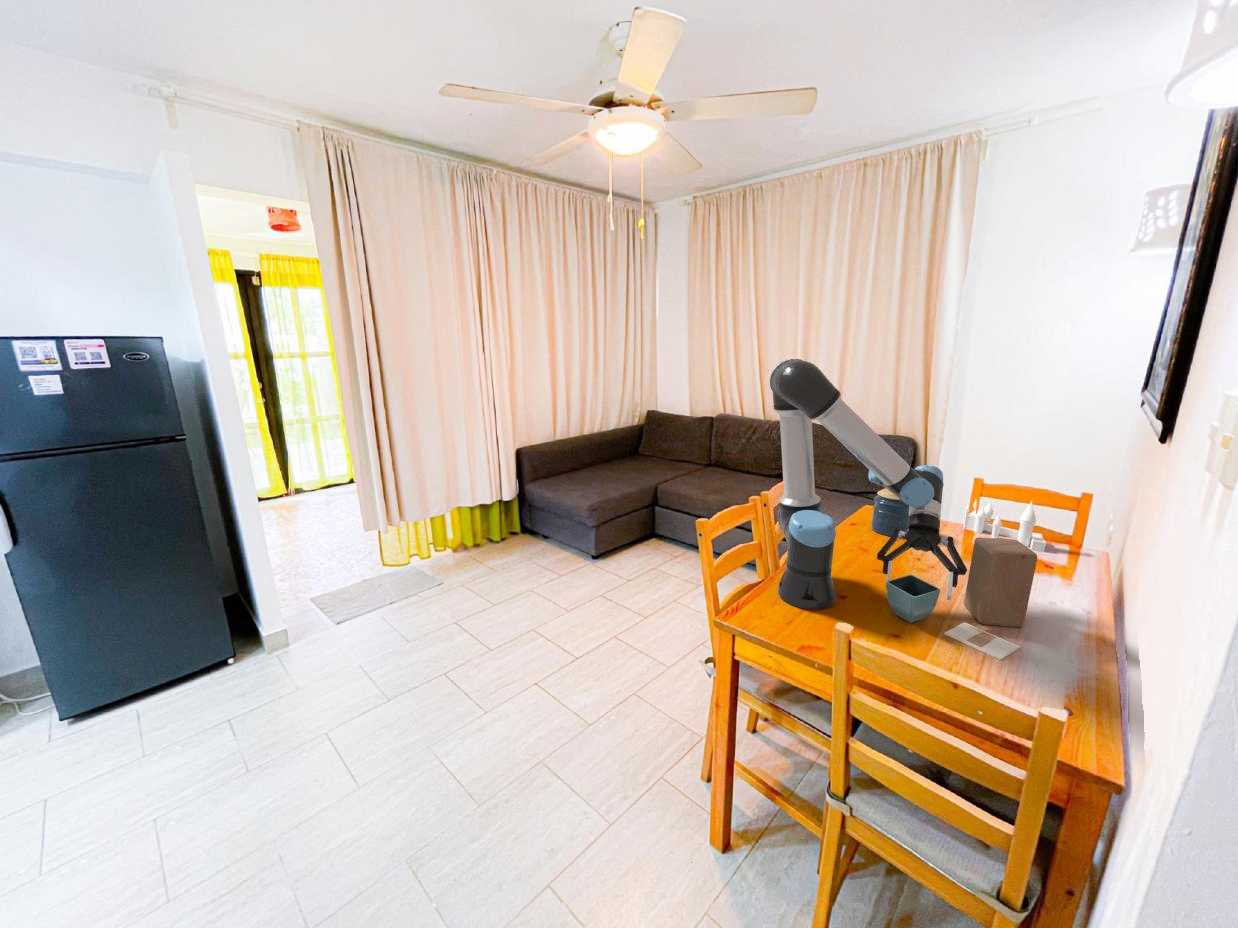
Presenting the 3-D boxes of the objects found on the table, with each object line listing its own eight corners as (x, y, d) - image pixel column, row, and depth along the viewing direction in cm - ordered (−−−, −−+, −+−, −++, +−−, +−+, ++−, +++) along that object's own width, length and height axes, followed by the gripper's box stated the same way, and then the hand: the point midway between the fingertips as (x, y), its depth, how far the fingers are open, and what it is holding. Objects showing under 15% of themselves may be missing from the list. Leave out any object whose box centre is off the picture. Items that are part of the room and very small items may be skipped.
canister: (879, 522, 197) (885, 478, 192) (915, 531, 187) (922, 485, 183) (864, 530, 189) (869, 485, 184) (901, 540, 179) (907, 492, 175)
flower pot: (881, 611, 133) (885, 580, 131) (907, 603, 136) (911, 573, 133) (910, 629, 125) (914, 597, 123) (937, 620, 128) (941, 589, 125)
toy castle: (1043, 553, 168) (1052, 507, 164) (957, 531, 187) (964, 490, 183) (1054, 542, 176) (1063, 498, 173) (971, 522, 195) (978, 482, 191)
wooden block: (1024, 629, 124) (1040, 554, 120) (979, 625, 126) (993, 551, 122) (1003, 608, 134) (1017, 538, 129) (961, 605, 136) (973, 535, 131)
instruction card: (944, 634, 123) (944, 632, 123) (963, 623, 127) (964, 621, 127) (1000, 660, 113) (1000, 658, 113) (1019, 647, 117) (1020, 645, 117)
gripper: (976, 532, 135) (973, 608, 127) (872, 517, 147) (863, 585, 138) (982, 519, 130) (979, 598, 121) (873, 505, 141) (864, 576, 133)
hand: (917, 592), depth 130 cm, fingers open, 13 cm apart
